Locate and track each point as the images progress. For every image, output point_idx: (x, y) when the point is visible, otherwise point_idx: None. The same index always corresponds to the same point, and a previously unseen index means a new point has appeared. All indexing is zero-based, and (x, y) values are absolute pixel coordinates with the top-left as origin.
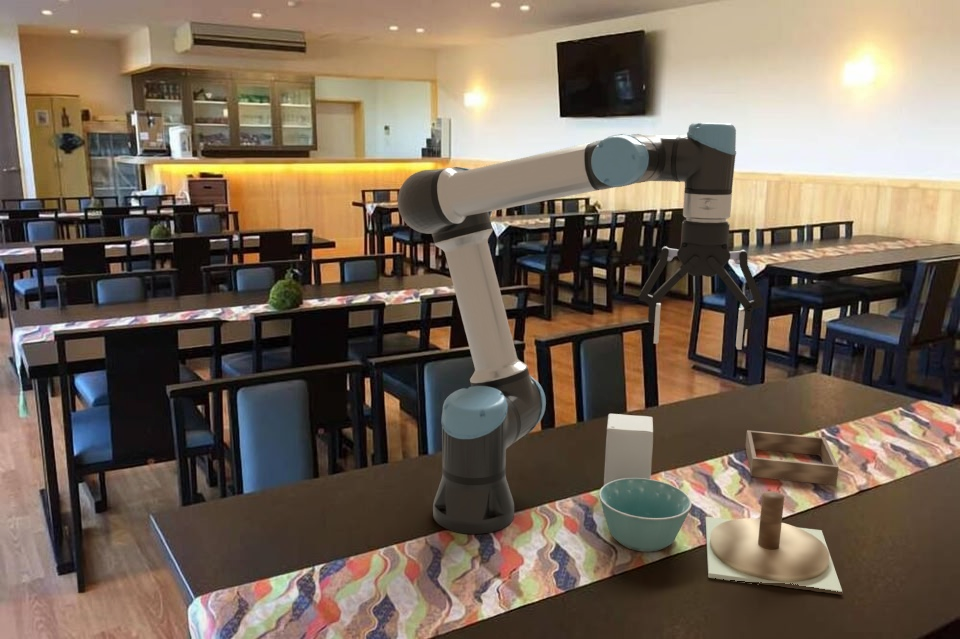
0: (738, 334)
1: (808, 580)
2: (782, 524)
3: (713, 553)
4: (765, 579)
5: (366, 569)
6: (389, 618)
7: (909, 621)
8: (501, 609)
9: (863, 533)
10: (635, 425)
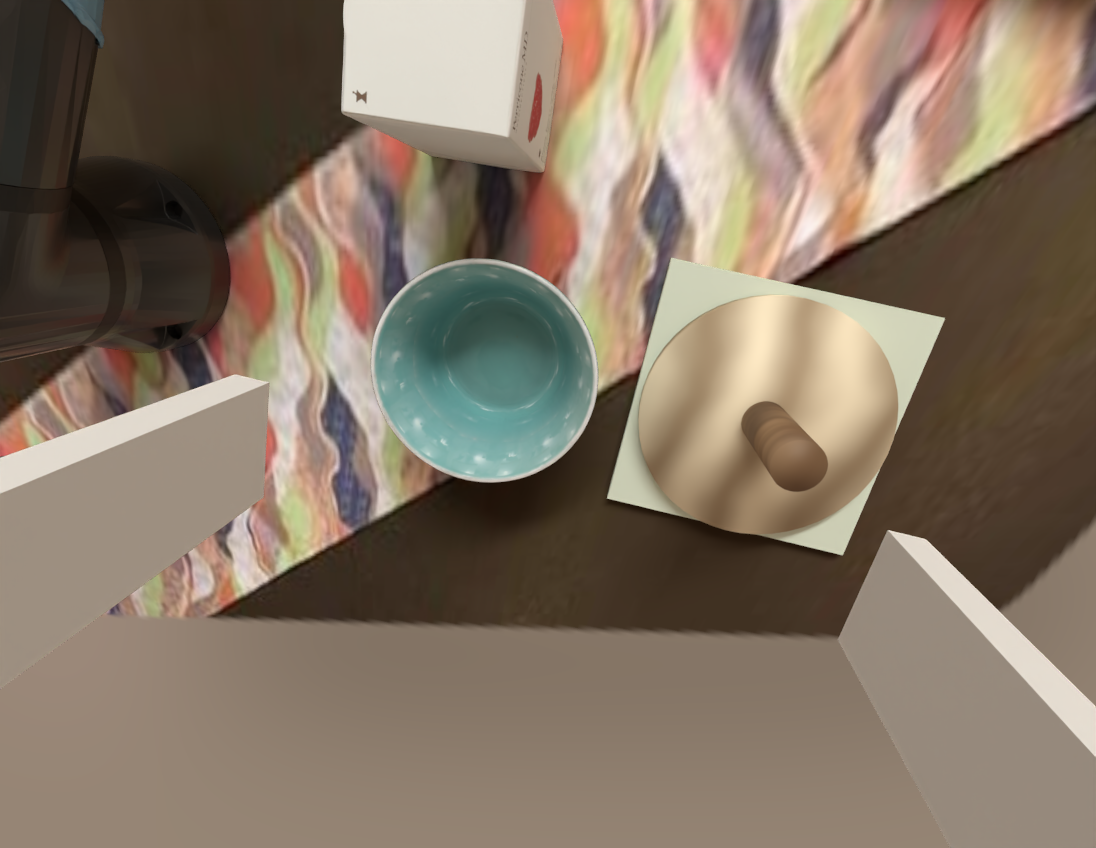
0: (894, 741)
1: None
2: (844, 326)
3: (638, 428)
4: None
5: None
6: None
7: None
8: (263, 575)
9: (1058, 306)
10: (447, 69)
